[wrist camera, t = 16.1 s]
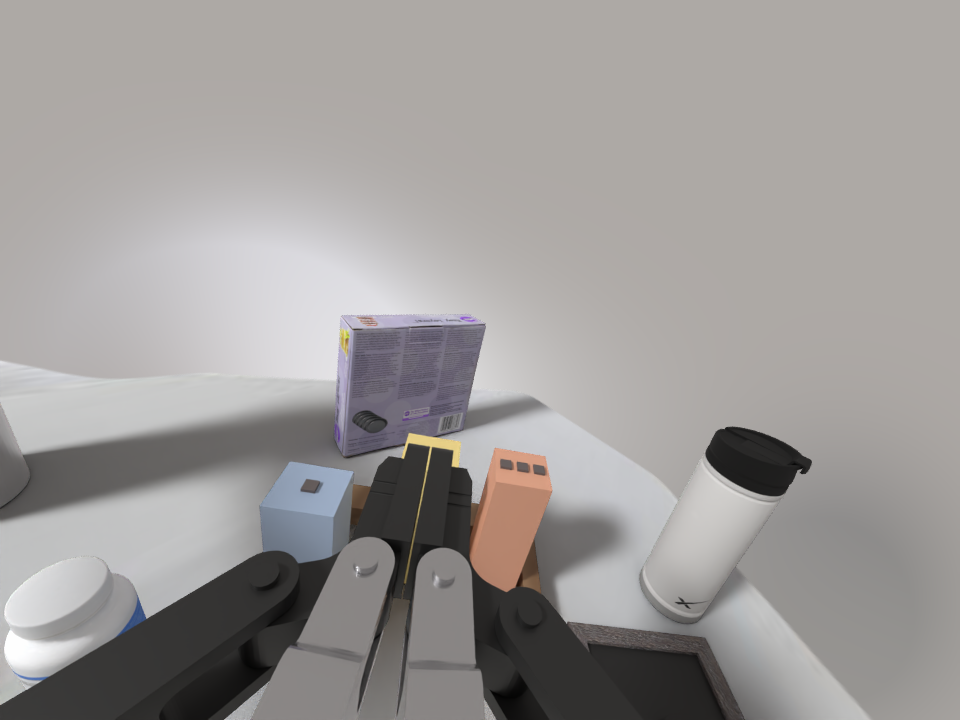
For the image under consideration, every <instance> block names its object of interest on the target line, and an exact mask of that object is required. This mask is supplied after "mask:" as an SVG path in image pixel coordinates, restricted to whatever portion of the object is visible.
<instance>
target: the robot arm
mask: <svg viewBox="0 0 960 720" xmlns="http://www.w3.org/2000/svg"><path fill="white" fill-rule="evenodd" d="M429 451H430V446H424V445H418V444H412V443H408V446H407V450H406V453H405V457H404V459H403V458H397V457H391V456H389V457H388V458H387V459H386V460H385V461H384V462H383V463H382V464H381V465H379V466H378V469H377V472H376V475H375V477H374V480H373V483H372V485H371V488H370V491H369V494H368V496H367V499H366V502H365V505H364V507H363V510H362V513H361V516H360V518H359V521H358V524H357V526H356V529H355V532H354V535H353V537H352V539H351V540H350V542H349V543H348V544H347V545H346V546H345V547H344V548H343V549H342V550H341V551H340V552H338V553H337V554H335V555H333V556H331V557H328V558H325V559H321V560H316V561H310V562H304V563H298V562H297V561H296V559H295V558H294V557H293V556H292V555H290V554H289V553H286V552H284V551H266V552H262V553H260V554H257V555H255V556H253V557H251V558H249V559H248V560H246V561H244V562H242V563H241V564H239V565H237V566H236V567H234V568H232V569H231V570H229V571H227V572H226V573H224V574H222V575H220V576H219V577H217V578H215V579H214V580H212V581H210V582H209V583H207V584H205V585H203V586H202V587H200V588H198V589H197V590H195V591H193V592H192V593H190V594H188V595H187V596H185V597H183V598H181V599H180V600H178V601H176V602H175V603H173V604H171V605H170V606H168V607H166V608H164V609H163V610H161V611H159V612H158V613H156V614H154V615H153V616H151V617H149V618H148V619H146V620H144V621H142V622H141V623H139V624H137V625H136V626H134V627H132V628H131V629H129V630H127V631H126V632H124V633H122V634H120V635H119V636H117V637H115V638H114V639H112V640H110V641H109V642H107V643H105V644H103V645H102V646H100V647H98V648H97V649H95V650H93V651H92V652H90V653H88V654H87V655H85V656H83V657H81V658H80V659H78V660H76V661H75V662H73V663H71V664H70V665H68V666H66V667H65V668H63V669H61V670H59V671H58V672H56V673H54V674H53V675H51V676H49V677H48V678H46V679H44V680H42V681H41V682H39V683H37V684H36V685H34V686H32V687H31V688H29V689H27V690H26V691H24V692H22V693H20V694H19V695H17V696H15V697H14V698H12V699H10V700H9V701H7V702H5V703H3V704H2V705H0V720H224V719H225V718H226V717H228V716H229V715H230V714H231V713H232V712H233V711H235V710H236V709H237V708H238V707H239V706H240V705H242V704H243V703H244V702H245V701H246V700H248V699H249V698H250V697H251V696H252V695H253V694H255V693H256V692H257V691H258V690H259V689H261V688H262V687H263V686H264V685H265V684H266V683H268V682H269V683H268V686H267V688H266V690H265V692H264V694H263V696H262V698H261V700H260V702H259V704H258V706H257V708H256V710H255V712H254V714H253V716H252V718H251V720H358V718H359V714H360V711H361V707H362V704H363V701H364V697H365V694H366V690H367V687H368V684H369V680H370V677H371V673H372V670H373V667H374V663H375V660H376V656H377V653H378V650H379V646H380V643H381V639H382V636H383V633H384V628H385V626H386V624H387V622H388V619H389V614H390V610H391V605H392V601H393V598H400V599H401V594H402V589H403V584H404V579H405V574H406V569H407V564H408V559H409V554H410V549H411V544H412V539H413V534H414V529H415V524H416V519H417V514H418V509H419V504H420V499H421V494H422V489H423V484H424V478H425V473H426V467H427V462H428V456H429ZM452 460H453V450H449V449H443V448H437V447H432V450H431V455H430V460H429V465H428V471H427V476H426V481H425V486H424V491H423V496H422V501H421V506H420V511H419V517H418V522H417V527H416V532H415V537H414V542H413V548H412V553H411V558H410V564H409V569H408V575H407V580H406V586H405V591H404V597H403V599H409V600H410V604H409V610H408V615H407V621H406V626H405V632H404V639H403V648H402V658H401V667H400V676H399V685H398V695H397V704H396V713H395V720H485V713H484V698H485V700H486V702H487V704H488V705H489V707H490V709H491V711H492V712H493V714H494V716H495V718H496V719H497V720H643V718H642V717H641V716H640V715H639V713H638V712H637V711H636V710H635V708H634V707H633V706H632V705H631V703H630V702H629V701H628V700H627V698H626V697H625V696H624V695H623V693H622V692H621V691H620V690H619V688H618V687H617V686H616V685H615V684H614V682H613V681H612V680H611V679H610V677H609V676H608V675H607V674H606V672H605V671H604V670H603V669H602V667H601V666H600V665H599V664H598V662H597V661H596V660H595V659H594V657H593V656H592V655H591V654H590V652H589V651H588V650H587V649H586V647H585V646H584V645H583V644H582V642H581V641H580V640H579V639H578V637H577V636H576V635H575V634H574V632H573V631H572V630H571V629H570V627H569V626H568V625H567V624H566V622H565V621H564V620H563V619H562V618H561V616H560V615H559V614H558V613H557V611H556V610H555V609H554V608H553V606H552V605H551V604H550V603H549V601H548V600H547V599H546V598H545V597H544V596H543V595H542V594H541V593H539V592H538V591H536V590H534V589H532V588H528V587H515V588H513V589H511V590H509V591H508V592H505V591H503V590H501V589H499V588H497V587H495V586H493V585H491V584H490V583H488V582H486V581H485V580H484V579H482V578H481V577H480V576H479V575H478V574H477V572H476V571H475V570H474V568H473V566H472V563H471V561H470V556H469V546H470V523H471V500H472V498H471V496H472V480H471V478H470V475H469V473H468V471H467V469H464V468H458V467H452ZM29 478H30V471H29V468H28V466H27V464H26V461H25V459H24V457H23V455H22V452H21V450H20V448H19V445H18V443H17V440H16V438H15V436H14V433H13V431H12V429H11V426H10V424H9V422H8V420H7V417H6V415H5V413H4V410H3V408H2V406H1V404H0V507H2V506H3V505H5V504H6V503H8V502H9V501H11V500H12V499H13V498H14V497H16V496H17V495H18V494H19V493H20V492H21V491H22V490H23V489H24V487H25V486H26V485H27V483H28V481H29Z"/></svg>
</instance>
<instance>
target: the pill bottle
mask: <svg viewBox="0 0 960 720" xmlns="http://www.w3.org/2000/svg"><path fill="white" fill-rule="evenodd" d="M4 614H5V619H6V621H7V623H8V624H9V626H10V628H11V629H10V631H9V634H8V636H7V638H6V642H5V648H4V652H5V658H6V660H7V662H8V664H9V665H10V667H11V668H12V670H13V672H14V673H15V674H16V676H17V677H18V678H19V680H20V681H21V683H22V684H23V685H24V687H25V688H26V690H27V689H29V688H31V687H32V686H34V685H36V684H37V683H39V682H41V681H42V680H44V679H46V678H48V677H49V676H51V675H53V674H54V673H56V672H58V671H59V670H61V669H63V668H65V667H66V666H68V665H70V664H71V663H73V662H75V661H76V660H78V659H80V658H81V657H83V656H85V655H87V654H88V653H90V652H92V651H93V650H95V649H97V648H98V647H100V646H102V645H103V644H105V643H107V642H109V641H110V640H112V639H114V638H115V637H117V636H119V635H120V634H122V633H124V632H126V631H127V630H129V629H131V628H132V627H134V626H136V625H137V624H139V623H141V622H142V621H144V620H146V617H145V614H144V611H143V609H142V606H141V603H140V601H139V598H138V595H137V592H136V590H135V588H134V586H133V584H132V583H131V581H130V580H129V579H127V578H126V577H124V576H122V575H119V574H115V573H111V572H110V570H109V568H108V566H107V564H106V563H105V562H104V561H103V560H101V559H99V558H97V557H92V556H81V557H75V558H70V559H66V560H63V561H60V562H57V563H55V564H53V565H50V566H48V567H46V568H44V569H43V570H41V571H39V572H38V573H36V574H34V575H33V576H31V577H30V578H29V579H27V580H26V581H25V582H24V583H23V584H21V585H20V586H19V587H18V588H17V589H16V590H15V592H14V593H13V594H12V595H11V597H10V598H9V600H8V602H7V604H6V607H5V612H4Z"/></svg>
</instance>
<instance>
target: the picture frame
mask: <svg viewBox="0 0 960 720" xmlns="http://www.w3.org/2000/svg"><path fill="white" fill-rule="evenodd" d="M567 625H568V626H569V627H570V629H571V630H572V631H573V632H574V634H575V635H576V636H577V637H578V639H579V640H580V641H581V642H582V644H583V645H584V646H585V647H586V649H587V650H588V651H589V652H590V654H591V655H592V656H593V657H594V659H595V660H596V661H597V662H598V664H599V665H600V666H601V667H602V669H603V670H604V671H605V672H606V674H607V675H608V676H609V677H610V679H611V680H612V681H613V682H614V684H615V685H616V686H617V687H618V688H619V690H620V691H621V692H622V693H623V695H624V696H625V697H626V698H627V700H628V701H629V702H630V703H631V705H632V706H633V707H634V708H635V710H636V711H637V712H638V713H639V715H640V716H641V717H642V718H643V720H745V719H744V717H743V715H742V713H741V711H740V709H739V707H738V704H737V702H736V700H735V698H734V696H733V694H732V692H731V690H730V688H729V686H728V684H727V682H726V680H725V678H724V676H723V674H722V672H721V670H720V668H719V666H718V663H717V661H716V659H715V657H714V655H713V653H712V651H711V649H710V647H709V645H708V643H707V641H706V639H705V638H703V637H694V636H685V635H677V634H668V633H660V632H651V631H642V630H634V629H625V628H617V627H608V626H599V625H591V624H582V623H574V622H568V623H567Z"/></svg>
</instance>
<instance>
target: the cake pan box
mask: <svg viewBox="0 0 960 720" xmlns="http://www.w3.org/2000/svg"><path fill="white" fill-rule="evenodd" d="M485 328H486V326H485V323H484V322H482V321H481V320H479V319H477V318H475V317H473V316H471V315H470V314H457V315H456V314H454V315H342V316H341V320H340V338H339V354H338V369H337V386H336V408H335V424H334V439H335V441H336V443H337V445H338V447H339V450H340V452H341V454H342V455H343V457H344V458H345V457H350V456H353V455H355V454H360V453H364V452H368V451H373V450H377V449H381V448H386V447H390V446H400V445H404V444H406V441H407V438H408V434H409V433H412V434H418V435H423V436H429V437H433V436H438V435H442V434H446V433H450V432H455V431H460V430H463V425H464V421H465V417H466V412H467V408H468V404H469V398H470V394H471V389H472V384H473V380H474V375H475V371H476V366H477V362H478V358H479V353H480V349H481V345H482V340H483V336H484V332H485Z"/></svg>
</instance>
